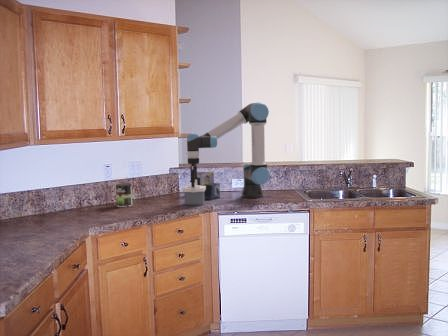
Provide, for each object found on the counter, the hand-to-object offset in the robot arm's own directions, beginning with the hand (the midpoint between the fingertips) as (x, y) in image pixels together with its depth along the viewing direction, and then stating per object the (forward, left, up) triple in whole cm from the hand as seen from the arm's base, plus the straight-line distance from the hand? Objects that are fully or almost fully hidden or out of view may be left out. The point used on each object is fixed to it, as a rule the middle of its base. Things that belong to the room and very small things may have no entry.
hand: (194, 190), depth 314 cm
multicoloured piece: (+46, +1, -9) cm, 47 cm away
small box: (-10, -20, -9) cm, 24 cm away
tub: (0, 0, -9) cm, 9 cm away
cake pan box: (-3, -38, -9) cm, 39 cm away
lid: (0, 0, 0) cm, 0 cm away
